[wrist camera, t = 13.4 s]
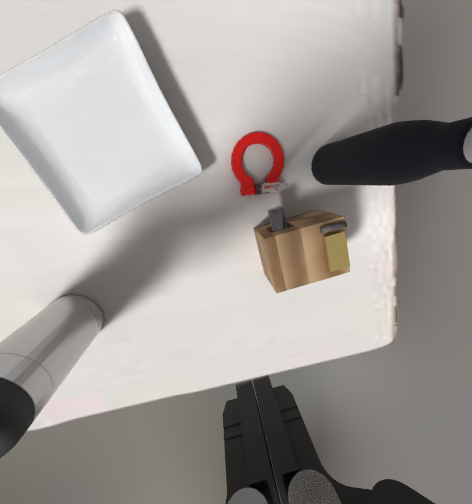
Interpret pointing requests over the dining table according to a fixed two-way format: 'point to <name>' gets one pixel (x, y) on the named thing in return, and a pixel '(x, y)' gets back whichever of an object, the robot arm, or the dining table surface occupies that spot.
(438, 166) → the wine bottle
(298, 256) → the block
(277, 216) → the pin
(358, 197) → the dining table surface
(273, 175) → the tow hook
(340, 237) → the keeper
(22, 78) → the salad plate
